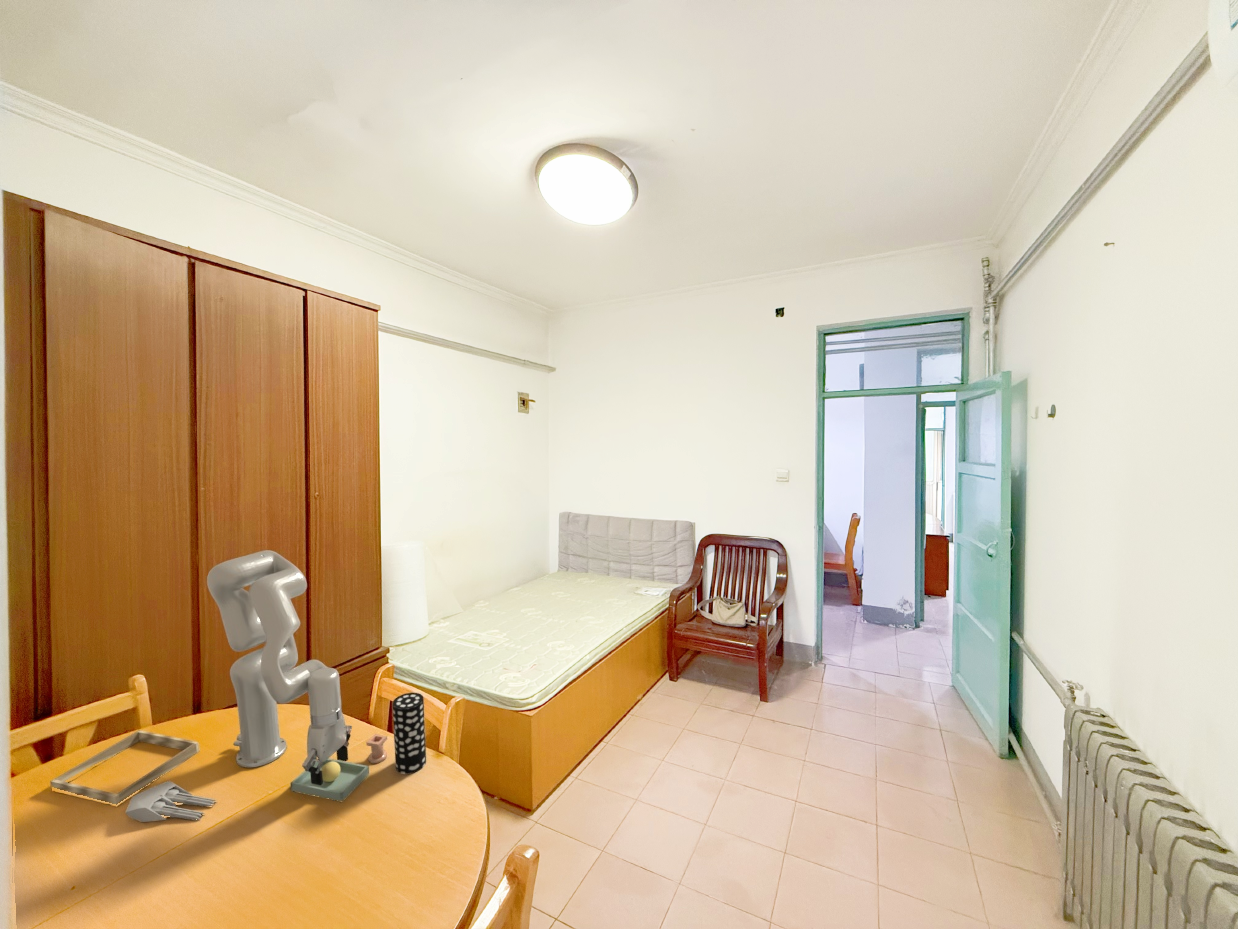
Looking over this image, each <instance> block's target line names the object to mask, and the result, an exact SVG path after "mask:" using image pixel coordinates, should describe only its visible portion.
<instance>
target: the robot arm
mask: <svg viewBox="0 0 1238 929" xmlns="http://www.w3.org/2000/svg"><path fill="white" fill-rule="evenodd" d="M206 585H207V588H208V591H209V593H210V595H211V597H212V599H213V600H214V601H215V603H216V605H217V607H218V609H219V612H220V616H221V621H222V624H223V628H224V631H225V635H226V638H227V641H228V644H229V646H230V648H231V649H232V651H234V652H245V651H247V650H250V649H252V648H256V647H258V646H259V645H262V644H264V646H263V647H262V648H259V649H256V650H254V651H251V652H249V653H248V654H245V655H243V656H241V657H239V658H238V659H237V660H235V661H234V662H233V663H232V665H231V667H230V670H229V676H230V680H231V682H232V683H231V684H232V686H233V688H234V692H235V697H236V698H235V699H236V704H237V712H238V722H239V724H238V725H239V732H240V733H239V734H238V735H237V736H236V740H235V741H233V743H232V745H233V746H234V747H239V751H238V752H237V754H236V757H235V758H236V759H235V760H236V764H237V765H238V766H240V767H241V768H250V769H251V768H257V767H262V766H265V765H267V764H271V763H272V762H274V761H275V760H277V759H278V758H280V757H281V756H282V755H283V754H284V752H286V749H287V748H288V747H287V746H288V745H287V741H286V740H285V739H284V738H283V737H281V736H280V735H281V733H280V724H279V711H278V704H283V705H284V704H288V703H291V702H292V701H294V700H296V699H298V698H300V697H302V696H303V695H304V694H306V693H308V702H309V716H310V717H309V718H310V724H309V726H308V728H307V736H306V737H307V739H306V755H307V756H306V758H305V759H304V761H303V763H302V766H301V767H302V768H303V769H304V771H308V772H310V774H311V783H312V784H316V785H322V784H323V777H322V771H321V770H320V769H321V767H322V764H323V762H324V761H326V760H327V759H328V758H331V756H333V755H334V754H335V753H336V760H340V761H345V762H348V760H349V752H348V747H349V745H350V742H349V741H350V737H351V732H352V728H353V726H352V725H348V724H347V725H346V721H345V716H344V714H343V712H342V711H343V710H342V697H341V685H340V683H341V682H340V674H339V672H338V670H337V669H336V668H333V667H328V666H327V665H326V664H324V663H323V662H322V661H321V660H318V659H309V660H308V661H306V662H303V663H301V664H299V665H298V666H296V665H297V663H298V662H299V661H298V660H299V655H298V649H297V644H296V640H295V636H294V633H295V632H297V630H298V629H299V628H300V627H301V620H300V618H299V616H298V613H297V611H296V609H295V606H294V604H293V602H292V599H294V598H296V597H299V596H302V595H303V594H304V593H305V592H306V590H307V588H308V583H307V578H306V577H305V575H304V573H303V572H302V571H301V570H300V569H299V567H297V566H296V565H295V564H293V563H292V562H291V561H289V560H288V559H286V558H285V557H284V556H282V555H281V554H279V553H278V552H276V551H273V550H270V549H269V550H267V549H266V550H265V549H264V550H261V551H257V552H253V553H250V554H247V555H244V556H243V555H242V556H239V557H236V558H232V559H228V560H226V561H223V562H221V563H217V564H216V565H215V566H213V567H212V568H211V569H210V570H209V571H208V575H207V578H206ZM248 586H249V588H248V590H247V589H244V588H245V587H248ZM315 762H318V765H317V768H316V767H314V765H315Z"/></svg>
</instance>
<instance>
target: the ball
mask: <svg viewBox="0 0 1238 929" xmlns="http://www.w3.org/2000/svg"><path fill="white" fill-rule="evenodd" d="M340 770H341V769H340V765H339V764H338V763H337V762H334V761H331V762H328V763H326V764H325V765H324V766H323V767H322V769H321V771H322V777H323V781H325V782H331V781H334V780H335V779H336V778H337V777H338V776H339V774H340Z"/></svg>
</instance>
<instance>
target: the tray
mask: <svg viewBox="0 0 1238 929" xmlns="http://www.w3.org/2000/svg"><path fill="white" fill-rule="evenodd" d="M331 761H334V762H337V763H338V764H339V765H340V769H341V770H340V774H339V776H338V777H337V778H336V779H335V780H334V781H331V782H325V781H323V784H322V785H316V784H312V783H311V774H310V772H308V771H305V770H303V771H302V772H301V773H300V774H299V775H298V776H297V777H296V778H295V779H293V780H292V781H291V782H290V791H291V792H293V791H295V792H294V793H298V792H300V793H299V794H302V793H305V794H304V795H307V794H309V795H308V796H311V795H315V796H314V797H316V796H319V797H318V798H321V797H323V798H322V799H325V798H329V799H328V800H330V799H333V800H332V801H335V800H338V801H337V802H339V801H343V800H344V799H345V798H348V797H349V795H350V794H351V793H352V792H353V791H354V790H356V788H357V787H359V785H360V784H361V783H362V782H363V781H364V780H366V778H367V777H368V776H369V775H370V766H369V765H365V764H360V763H359V764H358V763H354V762H349V761H341V760H337V759H334V758H331V757H329V758H328V759H327V760H326V761H324V762H323V764H322V767H323V766H324V765H325V764H326V763H328V762H331ZM317 765H318V762H315V765H314V767H316V768H317ZM322 767H321V769H322ZM321 769H320V770H321ZM345 800H346V799H345ZM345 800H344V801H345ZM344 801H343V802H344Z"/></svg>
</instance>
